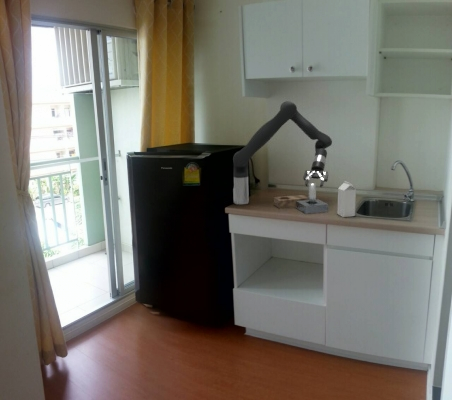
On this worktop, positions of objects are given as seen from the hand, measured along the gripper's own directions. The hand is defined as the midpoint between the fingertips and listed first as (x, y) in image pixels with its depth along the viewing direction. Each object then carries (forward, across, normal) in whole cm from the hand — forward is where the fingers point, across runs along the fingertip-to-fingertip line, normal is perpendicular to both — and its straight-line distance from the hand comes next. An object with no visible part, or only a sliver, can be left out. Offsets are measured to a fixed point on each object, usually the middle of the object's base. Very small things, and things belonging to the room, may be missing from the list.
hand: (313, 186), depth 244 cm
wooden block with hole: (+7, -14, +12) cm, 20 cm away
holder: (+12, 0, +8) cm, 14 cm away
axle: (+12, 0, +8) cm, 14 cm away
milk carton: (+16, +21, +4) cm, 26 cm away
